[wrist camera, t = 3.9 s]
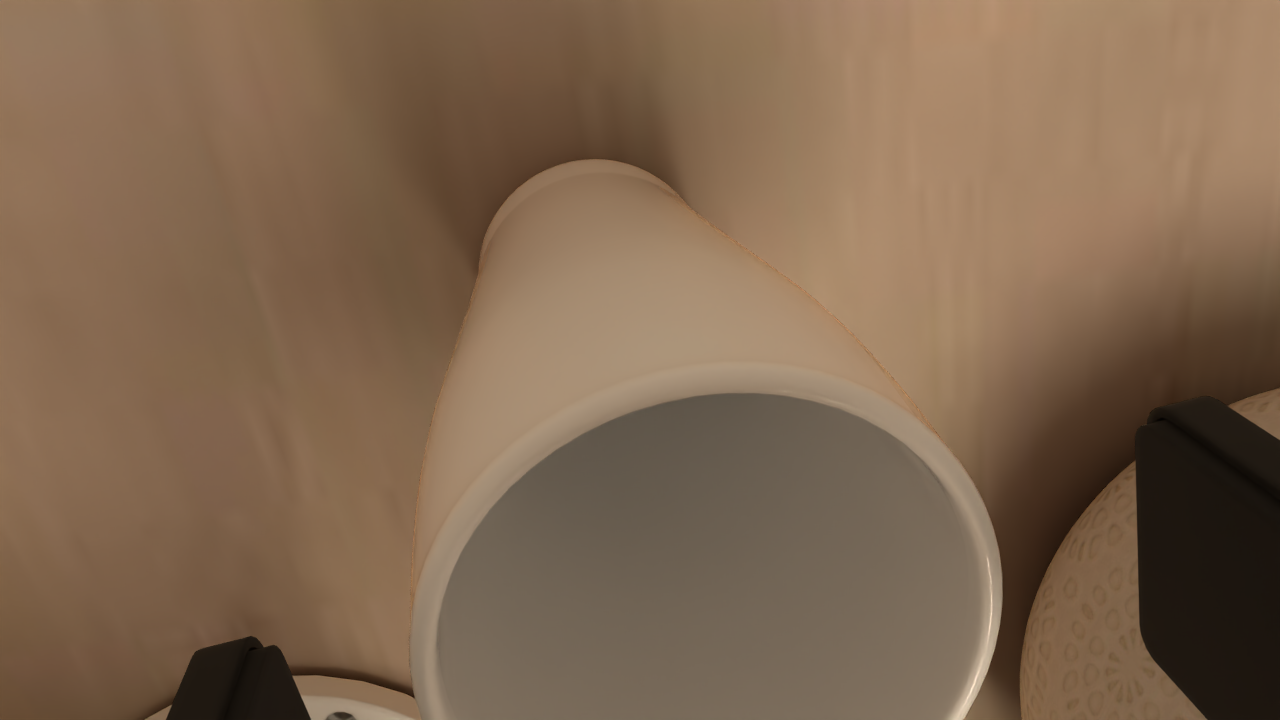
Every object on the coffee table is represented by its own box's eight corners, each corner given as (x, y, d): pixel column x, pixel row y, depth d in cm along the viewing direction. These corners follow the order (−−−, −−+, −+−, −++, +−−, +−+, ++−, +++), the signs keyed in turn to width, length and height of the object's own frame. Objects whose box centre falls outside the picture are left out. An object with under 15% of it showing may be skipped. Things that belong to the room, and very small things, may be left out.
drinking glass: (720, 105, 24) (1030, 317, 10) (738, 374, 27) (1005, 832, 13) (425, 140, 24) (339, 413, 10) (472, 412, 26) (454, 934, 12)
